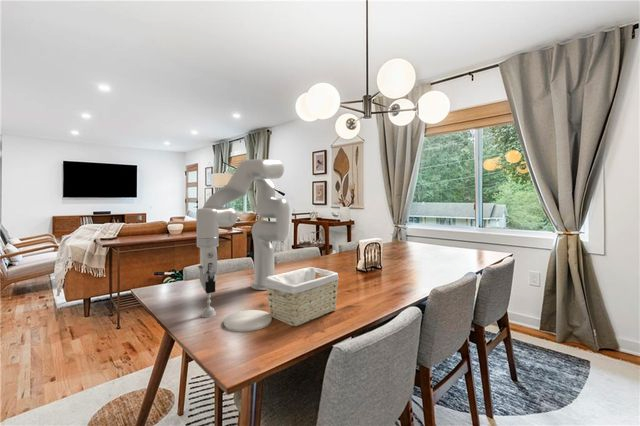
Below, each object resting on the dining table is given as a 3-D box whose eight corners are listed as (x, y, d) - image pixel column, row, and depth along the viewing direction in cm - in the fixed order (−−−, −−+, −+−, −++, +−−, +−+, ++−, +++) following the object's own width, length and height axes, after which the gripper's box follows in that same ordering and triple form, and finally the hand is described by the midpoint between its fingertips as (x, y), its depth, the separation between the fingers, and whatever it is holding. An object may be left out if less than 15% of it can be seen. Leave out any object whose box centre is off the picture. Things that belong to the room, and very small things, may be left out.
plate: (263, 310, 117) (263, 307, 117) (278, 325, 103) (278, 322, 103) (219, 317, 110) (219, 314, 110) (229, 335, 96) (229, 332, 96)
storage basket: (293, 330, 100) (293, 285, 100) (263, 316, 111) (263, 276, 111) (340, 310, 118) (340, 272, 117) (310, 300, 129) (310, 265, 128)
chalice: (202, 311, 116) (201, 263, 115) (220, 310, 117) (220, 263, 116) (196, 318, 109) (195, 268, 108) (215, 318, 110) (215, 268, 109)
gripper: (223, 244, 106) (223, 294, 106) (214, 238, 121) (215, 282, 122) (199, 246, 102) (200, 297, 103) (194, 239, 117) (194, 284, 118)
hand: (208, 288), depth 112 cm, fingers open, 9 cm apart
